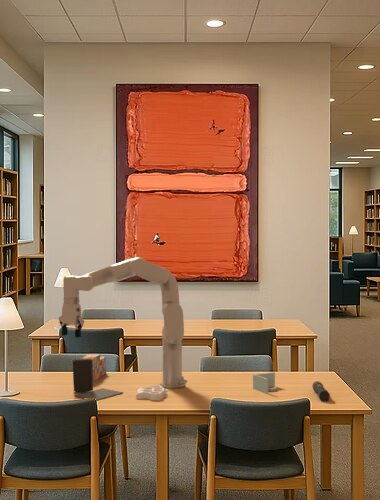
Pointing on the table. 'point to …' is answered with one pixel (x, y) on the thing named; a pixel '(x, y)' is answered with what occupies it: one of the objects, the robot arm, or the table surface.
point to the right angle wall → (264, 382)
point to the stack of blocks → (97, 365)
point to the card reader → (83, 375)
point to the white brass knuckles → (151, 392)
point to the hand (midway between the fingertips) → (71, 336)
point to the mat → (99, 394)
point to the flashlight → (321, 391)
